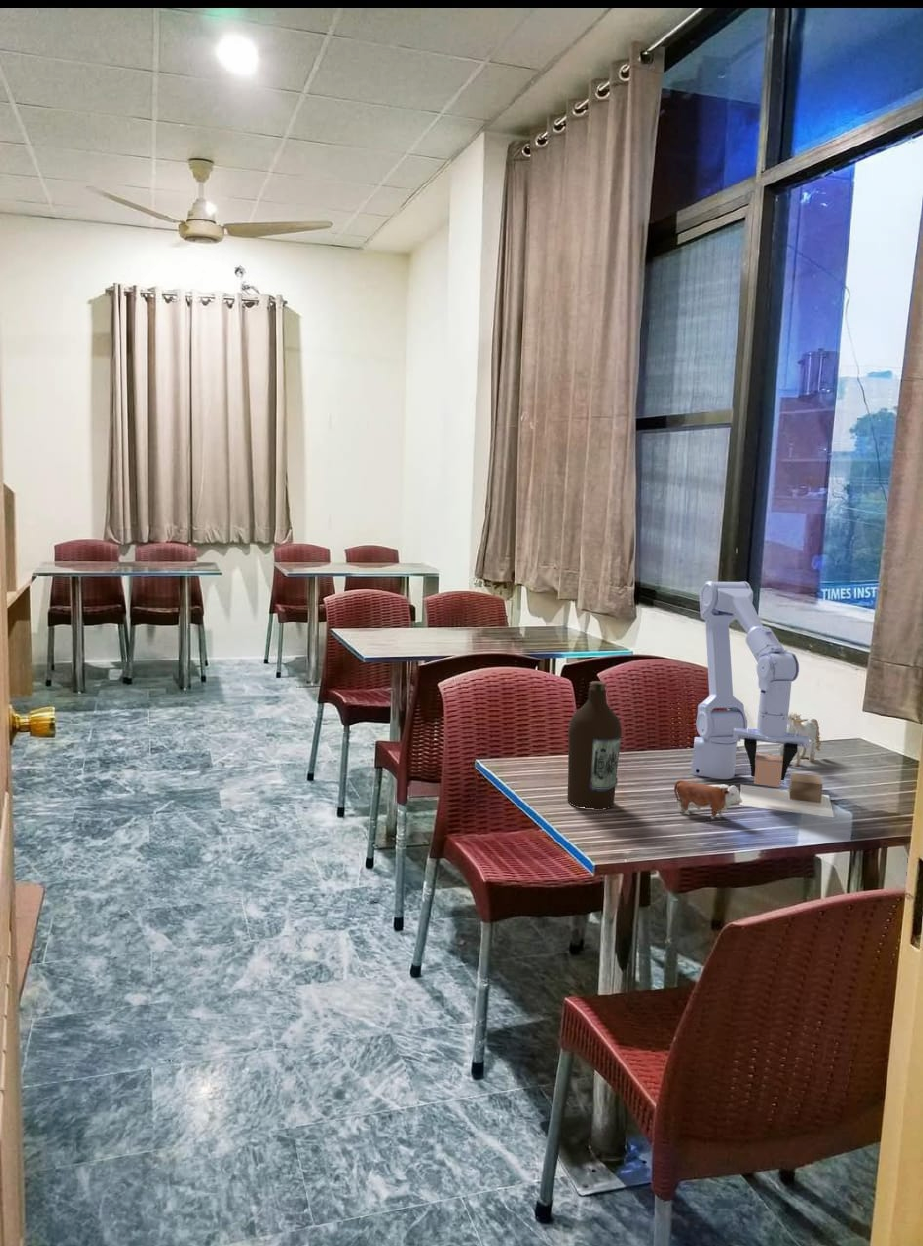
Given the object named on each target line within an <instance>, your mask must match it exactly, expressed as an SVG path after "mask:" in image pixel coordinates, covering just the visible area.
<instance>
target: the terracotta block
mask: <svg viewBox="0 0 923 1246" xmlns="http://www.w3.org/2000/svg"><path fill="white" fill-rule="evenodd" d="M781 773H782V756H780V755H774V754H766V753H765V754H764V753H757V752H756V758H755V777H753V784H754V785H761V786H766V787H767V786H768V787H775V788H776V787H777V788H781V782H782V780H781Z"/></svg>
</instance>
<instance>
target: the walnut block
mask: <svg viewBox="0 0 923 1246" xmlns="http://www.w3.org/2000/svg"><path fill="white" fill-rule="evenodd" d="M789 777H790V778H789V788H788V791H789V795H790V799H792V800H799V801H807V802H815V803H821V795H823V785H824V784H823V781H822V776H821V775H815V774H808V773H807V774H806V773H797V772H790V776H789Z"/></svg>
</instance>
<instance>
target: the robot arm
mask: <svg viewBox="0 0 923 1246" xmlns="http://www.w3.org/2000/svg"><path fill="white" fill-rule="evenodd" d="M751 587H752V586H751V585H750V583H749V582H747V581H712V580H707V581H705V583H704V584H703V586H702V587H701V590H700V592H699V609H700V610H699V611H700V618H701V619H702V620H703V621H704V623H705V624H704V626H705V628H704V629H705V642H706V657H707V659H706V660H707V661H706V662H707V675H708V678H707V679H708V693H709V694H708V696H707V697H706V698H705V699H704V700H702V701H701V702H700V703H699V704H698V706H697V716H696V717H697V718H696V729H697V730H696V731H697V733H698V734H699V736H695V737H694V740H693V741H694V743H693V753H692V760H691V763H690V769H691V775H693V776H699V777H700V776H701V777H706V778H712V779H718V780H728V779H733V778H735V772H736V771H735V770H736V759H737V747H738V742H741V740H743V745H744V749H745V751H746V754H747V758H748V760H749V766H750V776H751V777H753V778H754V777H755V762H756V753H757V744H758V742H760V743H771V744H780V745H781V744H784V749H783V761H782V773H781V781H785V777H786V774H787V771H788V768H789V766H790V764H791V763H792V761H793V759H794V757H795V756H797V751H798V748H797V747H798V746H799V747H802V748H803V747H805V748H806V749H809V748H810V742H811V740H810V738H809V736H803V735H798V734H793V733H787V726H788V725H787V723H788V715H789V714H790V713H789V712H790V711H789V709H790V700H791V692H792V691H791V690H792V682H794V681H795V680H796V679H797V678H798V676H799V672H800V664H799V660H798V658H797V656H796V654H795V653H793V652H790V651H788V649H784V648H783V645H782V643H780V641H779V639H778V638H777V637H776V635H775V633H774V631H773V630H772V628H771V627H769V626H765V625H763V623H762V621H761V619H760V617H759V615H758V613H757V610H756V609H755V607H754V604H753V601H754V590H753V589H752V588H751ZM735 620H737V622H738V623H739V625H740V626H741V627H742V628H743V630H744V631H745V633H746V634H747V635H746V638H745V644H746V645H747V647H748V648H749V651H750V652H751V653H752V655H753V657H754V659H755V660H756V662H757V664H756V673H757V677H758V679H757V680H758V683H757V684H758V689H760V692H759V693H760V695H759V705H758V716H757V725H756V728H748V719H747V716H746V713H745V712H746V711H745V708H744V703H743V702H741V701H740V700H739V699H738V698H737V697H735V696H734V688H733V687H734V686H733V672H732V671H733V670H732V656H731V637H730V624H731V623H732V622H733V621H735ZM714 709H717V710H714ZM720 709H721V710H720ZM723 709H724V710H723ZM697 770H699V771H697Z"/></svg>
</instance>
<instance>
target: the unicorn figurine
mask: <svg viewBox="0 0 923 1246" xmlns="http://www.w3.org/2000/svg"><path fill="white" fill-rule="evenodd" d="M801 716H802V715H801V714H797V712H793V711H791V712H790V713H788V723H787V733H793V734H798V735H803V736H809V738H810V742H811V743H812V745H811V748H810V750H809V757H808V761H809V762H810V763H813V762H814V761H815V757H814V756H815V755H816V750H817V751H818V752H820V751H821V750H820V747H821V746H822V742H821V740H820V739H821V737H820V731H819V730H820V726H819V723H818V720H817V719H815V718H810V719H809V718H806V719H804V718H803V719H802V718H800V717H801ZM797 748H798V751H797V753H796V757H795V758H796V759H795V760H794V761H795V762H794V764H793V766H795V767H799V766H800V764H801V759H804V758H805V757H806V754H807V749H808V748H805V747H803V746H802V749H800V746H798V747H797ZM783 749H784V744H780V745H779V748H778V751H779V756H782V761H783ZM800 750H801V752H800Z"/></svg>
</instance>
